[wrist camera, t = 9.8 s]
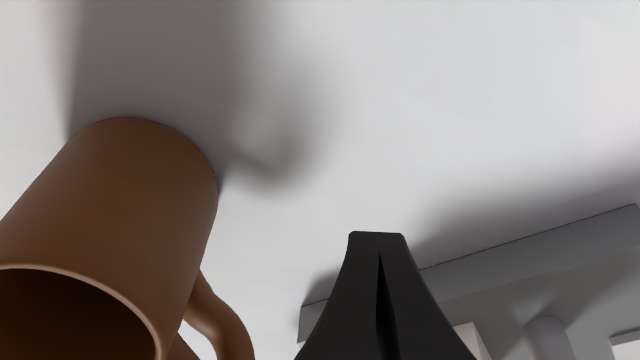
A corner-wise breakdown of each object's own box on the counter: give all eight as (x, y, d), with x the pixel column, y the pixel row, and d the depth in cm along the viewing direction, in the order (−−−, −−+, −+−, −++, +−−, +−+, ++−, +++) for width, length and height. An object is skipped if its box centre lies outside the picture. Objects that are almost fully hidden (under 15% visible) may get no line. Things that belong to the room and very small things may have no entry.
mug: (319, 234, 27) (306, 402, 20) (225, 301, 31) (183, 468, 23) (121, 77, 23) (4, 217, 15) (36, 176, 26) (-95, 332, 19)
